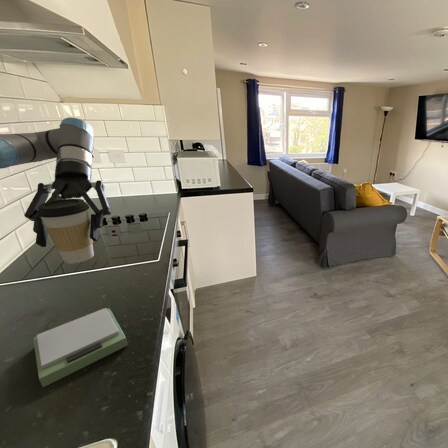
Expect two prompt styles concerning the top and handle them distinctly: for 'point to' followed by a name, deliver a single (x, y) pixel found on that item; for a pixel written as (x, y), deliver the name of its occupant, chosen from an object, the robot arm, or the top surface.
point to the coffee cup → (68, 228)
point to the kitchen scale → (77, 345)
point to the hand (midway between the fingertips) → (68, 242)
